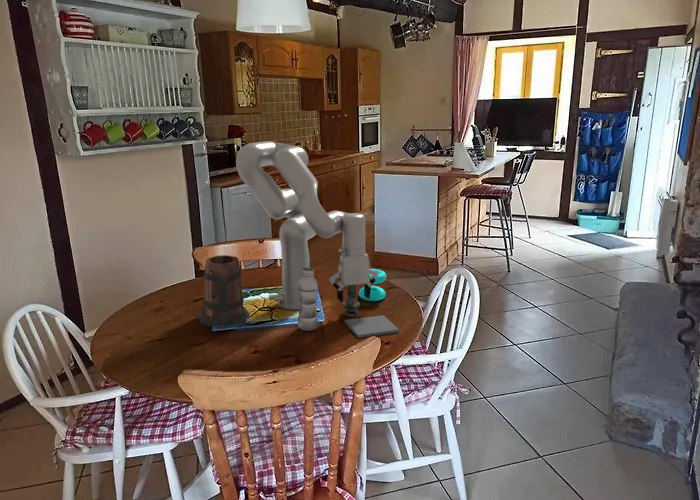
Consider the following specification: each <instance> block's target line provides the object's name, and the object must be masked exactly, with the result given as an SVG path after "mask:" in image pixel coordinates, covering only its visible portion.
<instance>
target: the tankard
mask: <svg viewBox="0 0 700 500" xmlns="http://www.w3.org/2000/svg"><path fill="white" fill-rule="evenodd" d="M203 279H204V297H203V305H204V306H203V307H204V308H203V309H202V310H201V312H200V314H199V315H198V321H199V323H201V324H202V325H207V326H208V327H209V326H210V327H211V326H212V327H231V326H235V325H238V324H242V323H244V322H246V321H247V320H249V318H250V316H251V314H250V311H248V310H247V307H245V305H244V301H245V300H244V295H243V288H242V287H243V286H242V269H241V266H240V263H239V259H238V256H233V255H227V254H224V255H220V254H219V255H215V256H211V257H208V258H206V259H205V267H204V270H203Z"/></svg>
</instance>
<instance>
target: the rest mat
mask: <svg viewBox="0 0 700 500" xmlns="http://www.w3.org/2000/svg"><path fill="white" fill-rule="evenodd" d="M344 324H345V325H346V326H347V327H348V328H349V329H350V331H351V332H352V333H353V335H355V336H356V337H357V339H360V338H361V339H362V338H369V336H370V337H374V336H375V337H376V336H382V335H389V334H396V333H397V334H399V333H400V329H399V328H398V326H396V325H395V323H392V322H391V320H389V319H388V318H387V317H386V316H385V315H384V314H382V315H376V316H366V317H358V318H352V319H345V320H344ZM372 335H374V336H372Z"/></svg>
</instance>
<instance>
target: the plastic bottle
mask: <svg viewBox="0 0 700 500" xmlns="http://www.w3.org/2000/svg"><path fill="white" fill-rule="evenodd" d="M302 276H303V277H302V278H301V279H300V281H299V283H298V293H299V304H300V306H299V310H298V315H297V326H298V328H299V329H300V330H301V331H304V332H312V331H314V330H316V328H317V327H318V325H319V324H318V323H319V320H318V313H317V311H318V310H317V295H318V288H319V284H318V281H317V280H316V279H315V269H314V268H313V267H309V268H303V269H302Z"/></svg>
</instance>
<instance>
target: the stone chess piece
mask: <svg viewBox="0 0 700 500" xmlns="http://www.w3.org/2000/svg"><path fill="white" fill-rule="evenodd" d="M357 295H358V292H357V285H350V286H347V292H346V296H347V298H346V300H345V301H343V302H342V305H343V307H344V309H345V310H344V311H343V315H345V316H347V317H356V316H358V315H359V314H360V313H359V311H358V310H359V307H360V306H361V303H360V302H359V301H358V300H357Z"/></svg>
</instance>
